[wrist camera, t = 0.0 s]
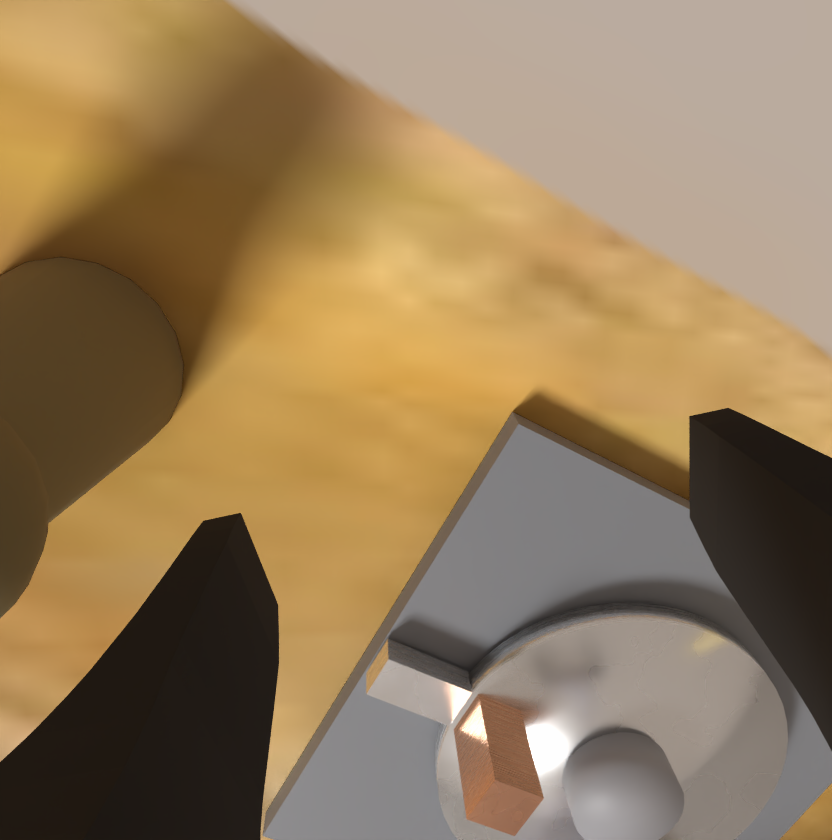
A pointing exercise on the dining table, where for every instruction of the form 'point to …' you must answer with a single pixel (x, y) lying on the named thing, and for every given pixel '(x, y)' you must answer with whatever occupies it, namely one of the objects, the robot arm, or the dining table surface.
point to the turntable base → (511, 613)
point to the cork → (72, 395)
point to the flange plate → (594, 718)
